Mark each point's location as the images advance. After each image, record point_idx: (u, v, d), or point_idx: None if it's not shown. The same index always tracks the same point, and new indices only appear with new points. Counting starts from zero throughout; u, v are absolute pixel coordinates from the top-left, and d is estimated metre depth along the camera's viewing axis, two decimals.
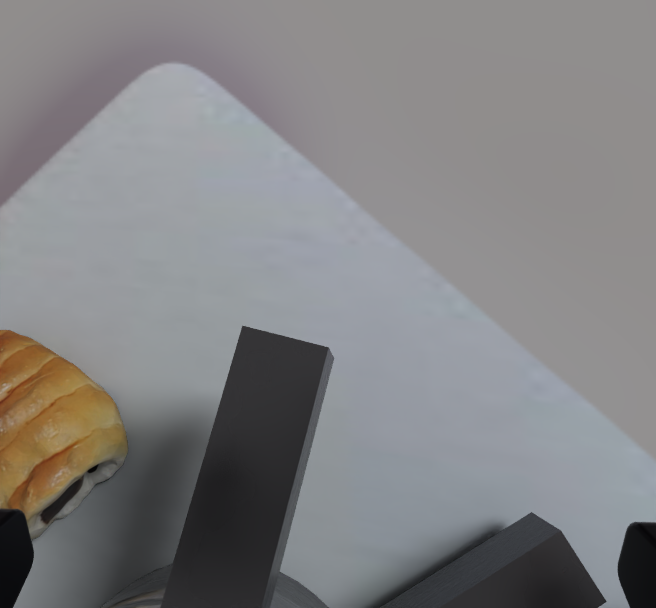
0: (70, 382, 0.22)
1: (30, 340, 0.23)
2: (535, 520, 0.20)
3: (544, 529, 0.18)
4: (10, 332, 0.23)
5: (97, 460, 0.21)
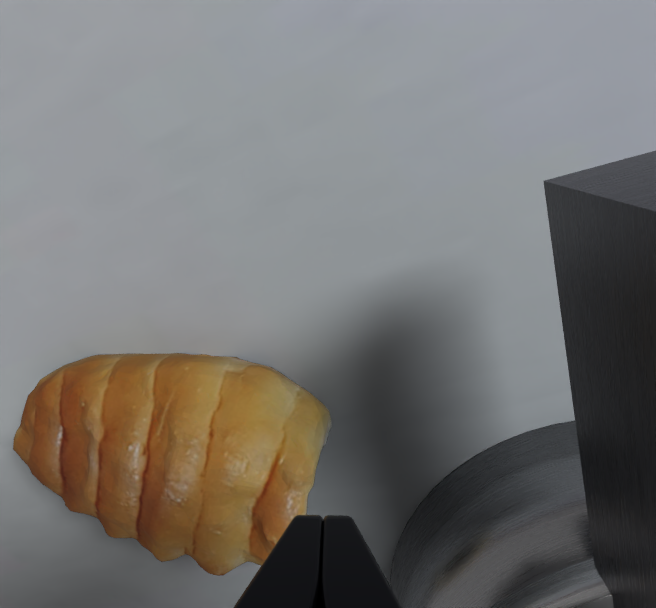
0: (205, 389, 0.14)
1: (101, 363, 0.15)
2: None
3: None
4: (69, 371, 0.15)
5: (317, 456, 0.14)
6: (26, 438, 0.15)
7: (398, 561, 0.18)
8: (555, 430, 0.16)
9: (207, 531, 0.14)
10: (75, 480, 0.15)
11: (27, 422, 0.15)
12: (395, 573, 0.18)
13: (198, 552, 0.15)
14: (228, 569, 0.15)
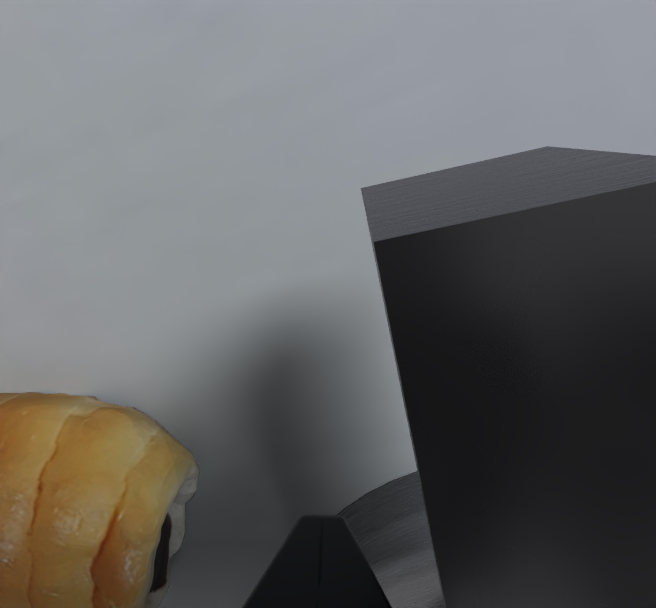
0: (39, 437, 0.13)
1: None
2: None
3: None
4: None
5: (163, 511, 0.13)
6: None
7: None
8: None
9: (41, 593, 0.13)
10: None
11: None
12: None
13: None
14: None
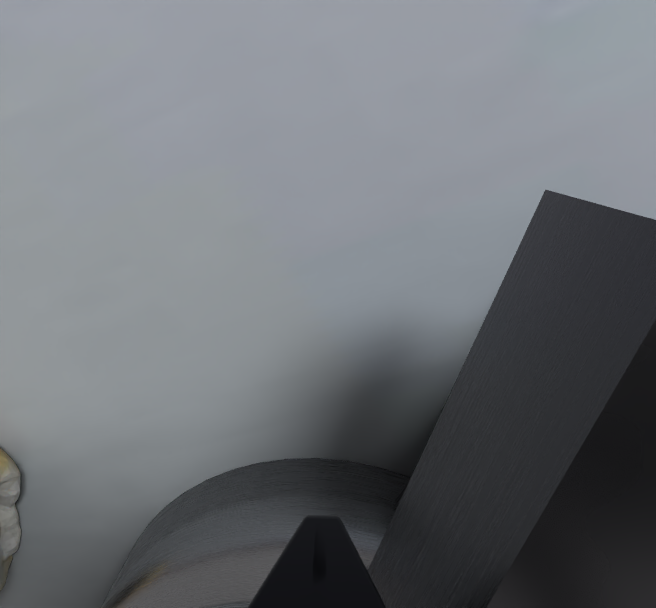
0: None
1: None
2: None
3: None
4: None
5: None
6: None
7: None
8: (253, 470, 0.15)
9: None
10: None
11: None
12: None
13: None
14: None
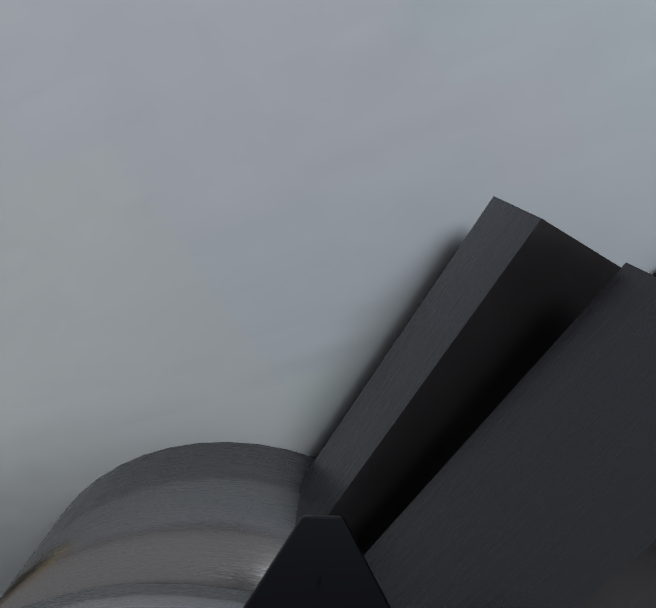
0: None
1: None
2: (500, 210, 0.11)
3: (515, 225, 0.10)
4: None
5: None
6: None
7: None
8: (163, 454, 0.15)
9: None
10: None
11: None
12: None
13: None
14: None
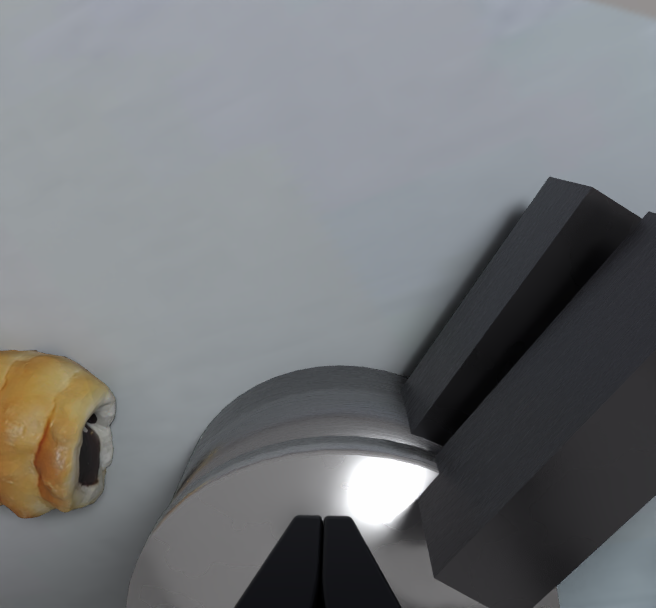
0: None
1: None
2: (557, 185, 0.16)
3: (571, 193, 0.15)
4: None
5: (81, 420, 0.19)
6: None
7: None
8: (292, 375, 0.20)
9: (1, 481, 0.19)
10: None
11: None
12: None
13: (3, 499, 0.19)
14: (31, 512, 0.20)
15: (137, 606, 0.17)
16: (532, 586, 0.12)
